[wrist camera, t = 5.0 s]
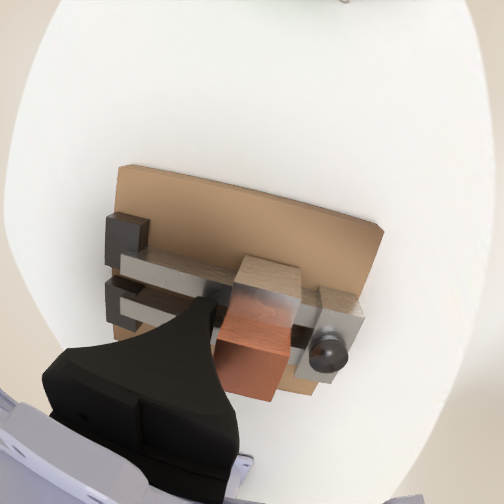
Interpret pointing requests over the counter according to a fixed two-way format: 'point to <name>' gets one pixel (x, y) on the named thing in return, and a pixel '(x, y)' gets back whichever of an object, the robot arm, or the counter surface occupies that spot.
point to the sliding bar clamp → (218, 298)
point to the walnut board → (246, 235)
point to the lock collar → (258, 328)
